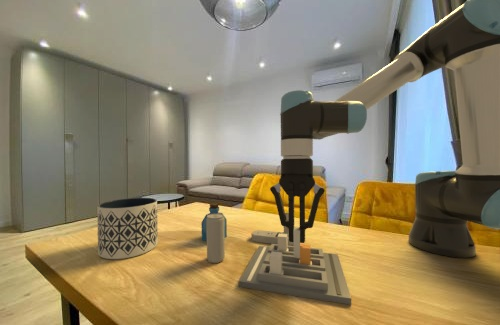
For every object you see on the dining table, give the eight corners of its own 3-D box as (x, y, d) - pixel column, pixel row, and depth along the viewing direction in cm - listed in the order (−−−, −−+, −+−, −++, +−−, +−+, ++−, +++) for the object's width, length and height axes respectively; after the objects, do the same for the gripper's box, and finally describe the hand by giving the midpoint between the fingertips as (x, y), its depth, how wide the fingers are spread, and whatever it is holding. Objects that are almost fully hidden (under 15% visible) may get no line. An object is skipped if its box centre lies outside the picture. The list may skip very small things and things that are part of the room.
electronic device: (254, 209, 76) (296, 212, 70) (255, 236, 76) (297, 241, 70) (248, 213, 71) (292, 216, 65) (249, 242, 71) (294, 247, 65)
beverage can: (209, 265, 54) (209, 219, 54) (204, 258, 58) (204, 214, 58) (227, 261, 56) (227, 216, 56) (221, 254, 61) (220, 212, 60)
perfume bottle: (201, 240, 71) (201, 205, 71) (211, 234, 77) (211, 201, 77) (217, 243, 69) (217, 206, 69) (226, 236, 74) (226, 203, 74)
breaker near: (283, 274, 47) (283, 252, 47) (282, 280, 45) (282, 257, 45) (270, 272, 48) (270, 251, 48) (268, 278, 46) (268, 255, 46)
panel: (337, 258, 57) (337, 248, 57) (351, 304, 39) (351, 290, 39) (259, 249, 63) (259, 240, 63) (238, 286, 45) (238, 274, 45)
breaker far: (288, 252, 59) (288, 234, 59) (287, 255, 56) (287, 237, 56) (277, 250, 59) (277, 233, 59) (276, 254, 57) (276, 236, 57)
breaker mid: (311, 265, 51) (311, 244, 51) (311, 270, 49) (311, 248, 49) (299, 263, 52) (299, 243, 52) (298, 268, 50) (298, 247, 50)
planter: (166, 247, 65) (165, 201, 65) (106, 267, 54) (105, 211, 54) (146, 235, 76) (145, 196, 76) (92, 249, 65) (91, 202, 65)
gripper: (324, 157, 53) (324, 251, 53) (272, 158, 56) (272, 246, 56) (326, 157, 45) (326, 266, 46) (267, 158, 49) (267, 259, 49)
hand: (297, 255), depth 51 cm, fingers closed
